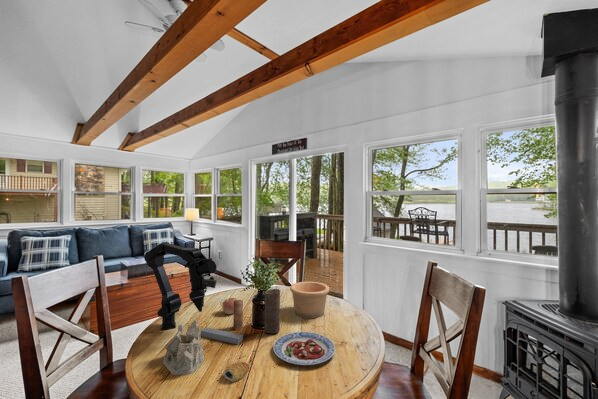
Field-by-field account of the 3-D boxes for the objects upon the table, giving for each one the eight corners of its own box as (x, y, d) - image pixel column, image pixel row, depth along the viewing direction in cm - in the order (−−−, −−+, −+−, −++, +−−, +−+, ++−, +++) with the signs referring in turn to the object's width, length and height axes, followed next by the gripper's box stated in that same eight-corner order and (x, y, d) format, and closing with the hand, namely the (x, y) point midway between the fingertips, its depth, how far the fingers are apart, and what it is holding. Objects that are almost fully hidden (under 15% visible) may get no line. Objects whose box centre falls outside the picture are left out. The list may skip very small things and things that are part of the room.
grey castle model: (173, 349, 115) (174, 314, 114) (211, 353, 114) (212, 318, 113) (149, 375, 100) (149, 334, 99) (192, 380, 98) (193, 339, 97)
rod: (232, 326, 137) (232, 300, 137) (241, 325, 139) (241, 299, 139) (234, 330, 133) (234, 303, 133) (243, 329, 135) (243, 302, 135)
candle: (277, 336, 128) (277, 293, 128) (262, 334, 129) (262, 291, 129) (281, 329, 135) (282, 288, 135) (267, 327, 137) (267, 287, 137)
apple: (241, 312, 154) (241, 298, 154) (228, 317, 147) (228, 302, 147) (232, 308, 160) (232, 294, 160) (218, 313, 153) (219, 298, 153)
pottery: (295, 322, 143) (295, 294, 143) (286, 306, 164) (287, 282, 164) (334, 319, 148) (334, 292, 148) (321, 304, 169) (321, 280, 169)
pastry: (240, 364, 106) (241, 354, 106) (254, 371, 102) (254, 360, 102) (221, 377, 98) (221, 366, 98) (234, 385, 94) (235, 373, 94)
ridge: (200, 336, 127) (200, 330, 127) (206, 332, 130) (206, 327, 130) (238, 344, 120) (238, 338, 120) (242, 340, 123) (242, 335, 123)
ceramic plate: (325, 334, 131) (325, 328, 131) (343, 366, 105) (344, 359, 105) (271, 338, 126) (271, 332, 126) (276, 373, 101) (276, 365, 101)
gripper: (213, 273, 123) (218, 309, 122) (214, 269, 141) (219, 300, 140) (186, 279, 120) (192, 316, 119) (191, 274, 138) (196, 306, 137)
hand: (201, 309), depth 129 cm, fingers open, 9 cm apart
